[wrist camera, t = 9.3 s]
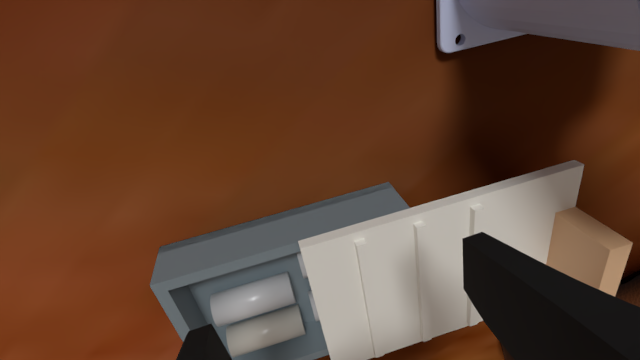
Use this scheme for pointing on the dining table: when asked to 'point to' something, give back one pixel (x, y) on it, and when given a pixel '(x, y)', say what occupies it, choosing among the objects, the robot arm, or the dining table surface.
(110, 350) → the dining table surface
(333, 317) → the lid
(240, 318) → the tub
